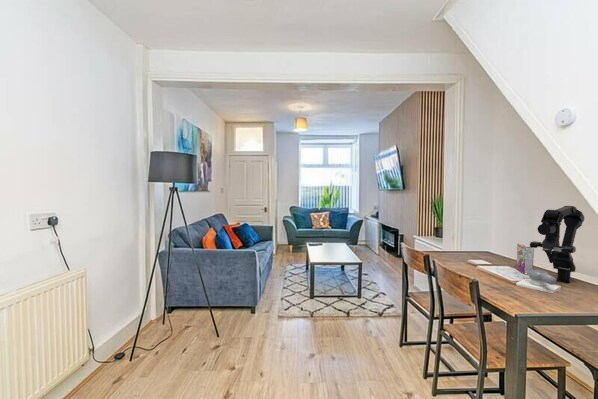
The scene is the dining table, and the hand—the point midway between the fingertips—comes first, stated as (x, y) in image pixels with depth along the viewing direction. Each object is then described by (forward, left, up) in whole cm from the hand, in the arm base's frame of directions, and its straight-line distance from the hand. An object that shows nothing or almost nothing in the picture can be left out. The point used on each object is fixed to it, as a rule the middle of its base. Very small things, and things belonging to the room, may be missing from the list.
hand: (551, 263), depth 176 cm
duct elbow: (+10, -1, -8) cm, 13 cm away
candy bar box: (-19, -18, -12) cm, 29 cm away
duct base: (+8, -3, -12) cm, 15 cm away
